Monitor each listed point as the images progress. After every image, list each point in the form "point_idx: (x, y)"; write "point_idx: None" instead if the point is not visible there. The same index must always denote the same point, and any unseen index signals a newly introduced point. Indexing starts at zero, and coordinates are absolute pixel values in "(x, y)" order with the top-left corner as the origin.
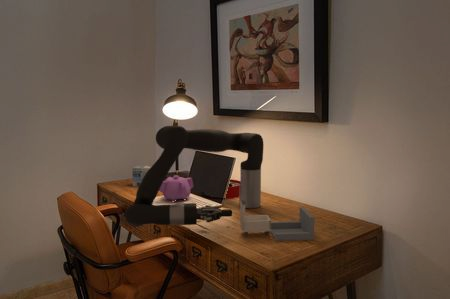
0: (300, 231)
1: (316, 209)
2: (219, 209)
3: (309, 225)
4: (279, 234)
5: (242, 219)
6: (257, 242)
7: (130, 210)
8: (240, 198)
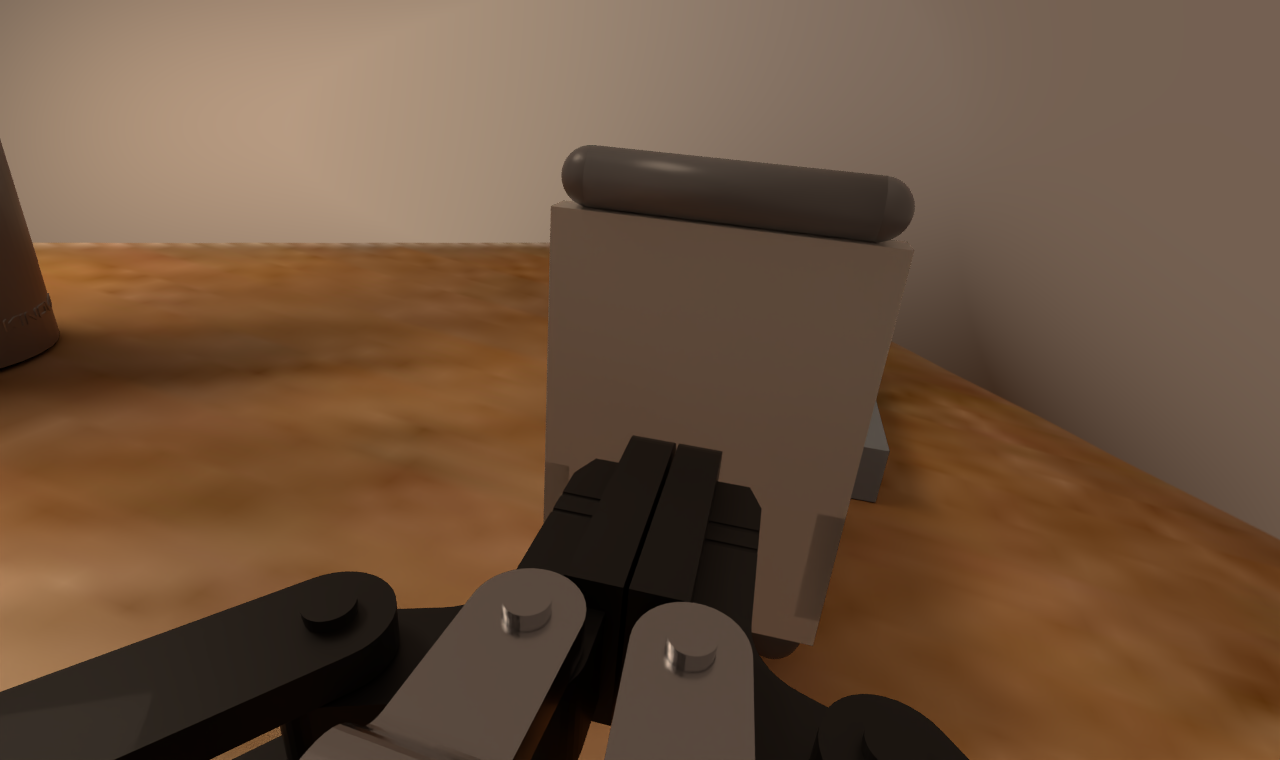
0: None
1: (406, 253)
2: (556, 618)
3: None
4: (884, 438)
5: (790, 493)
6: (923, 623)
7: None
8: (608, 171)
